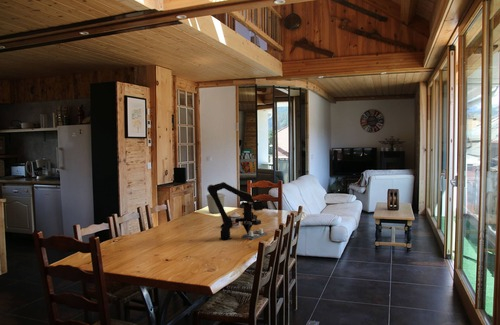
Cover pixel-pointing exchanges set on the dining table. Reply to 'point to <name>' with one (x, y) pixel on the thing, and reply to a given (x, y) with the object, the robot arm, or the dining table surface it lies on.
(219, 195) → the canister
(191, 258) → the dining table surface
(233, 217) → the teacup with lid
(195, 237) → the dining table surface
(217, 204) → the robot arm
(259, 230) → the tab
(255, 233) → the switch bank
